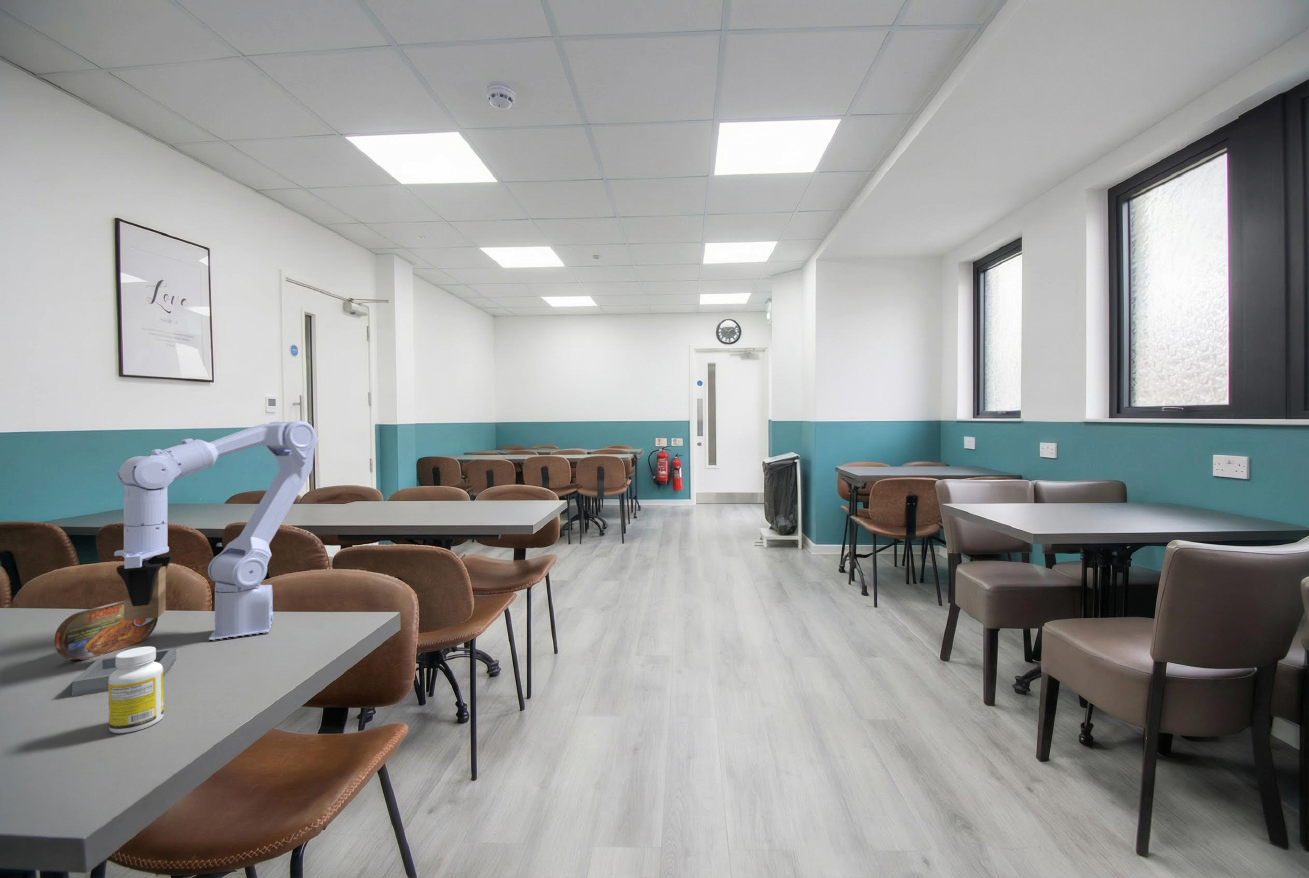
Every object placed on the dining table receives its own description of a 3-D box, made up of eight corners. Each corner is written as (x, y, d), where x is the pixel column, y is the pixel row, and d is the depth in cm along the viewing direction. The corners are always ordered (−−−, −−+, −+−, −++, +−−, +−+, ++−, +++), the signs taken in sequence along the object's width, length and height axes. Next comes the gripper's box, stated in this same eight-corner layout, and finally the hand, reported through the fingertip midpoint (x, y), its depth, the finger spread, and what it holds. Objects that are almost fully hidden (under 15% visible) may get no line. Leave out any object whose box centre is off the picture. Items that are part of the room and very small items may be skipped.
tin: (64, 667, 94) (64, 617, 94) (50, 666, 95) (50, 616, 95) (159, 636, 109) (159, 593, 109) (146, 635, 110) (146, 592, 110)
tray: (176, 660, 97) (176, 647, 97) (159, 682, 88) (159, 668, 88) (97, 672, 92) (97, 658, 92) (72, 696, 83) (72, 681, 83)
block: (165, 610, 101) (165, 566, 101) (158, 617, 97) (158, 571, 97) (132, 614, 99) (132, 569, 99) (123, 621, 95) (124, 574, 95)
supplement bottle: (132, 715, 78) (132, 644, 78) (173, 713, 78) (173, 643, 78) (96, 735, 72) (96, 659, 72) (141, 733, 73) (141, 658, 73)
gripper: (129, 520, 103) (129, 594, 103) (99, 531, 90) (99, 615, 90) (179, 518, 106) (178, 589, 106) (156, 528, 94) (156, 609, 93)
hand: (145, 601), depth 98 cm, fingers closed on block, 4 cm apart
